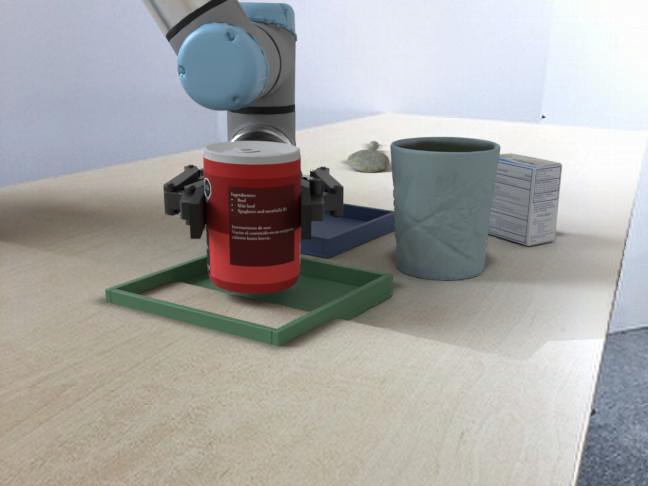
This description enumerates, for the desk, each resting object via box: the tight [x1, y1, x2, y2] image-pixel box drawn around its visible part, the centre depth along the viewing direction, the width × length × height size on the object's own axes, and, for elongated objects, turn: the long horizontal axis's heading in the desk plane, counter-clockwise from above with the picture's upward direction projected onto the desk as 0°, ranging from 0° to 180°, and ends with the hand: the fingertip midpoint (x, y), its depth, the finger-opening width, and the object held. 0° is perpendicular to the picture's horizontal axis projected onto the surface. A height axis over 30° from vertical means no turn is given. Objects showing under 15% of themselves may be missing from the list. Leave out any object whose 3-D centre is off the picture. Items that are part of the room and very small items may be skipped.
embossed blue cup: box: [389, 136, 501, 281], centre depth 81 cm, size 10×10×12 cm
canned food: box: [202, 141, 302, 294], centre depth 70 cm, size 8×8×11 cm
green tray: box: [104, 254, 394, 347], centre depth 72 cm, size 17×17×2 cm
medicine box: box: [488, 152, 563, 247], centre depth 94 cm, size 8×4×9 cm, turn 34°
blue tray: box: [300, 202, 395, 259], centre depth 95 cm, size 15×15×2 cm
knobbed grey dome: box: [347, 140, 390, 173], centre depth 140 cm, size 22×3×7 cm
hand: (250, 221), depth 65 cm, fingers closed on canned food, 8 cm apart
